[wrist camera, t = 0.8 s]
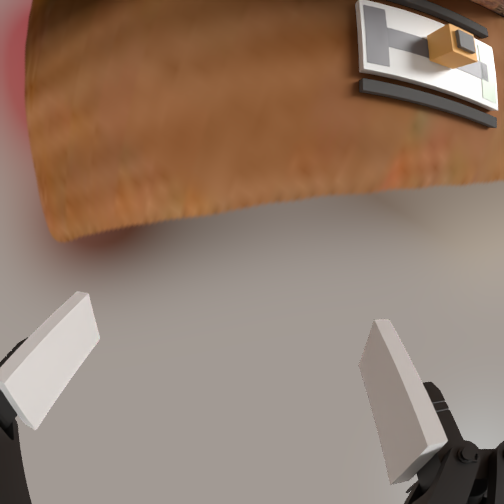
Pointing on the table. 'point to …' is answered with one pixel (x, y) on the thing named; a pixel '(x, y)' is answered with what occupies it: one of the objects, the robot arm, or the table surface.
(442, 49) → the lever
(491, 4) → the book
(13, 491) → the robot arm
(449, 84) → the panel
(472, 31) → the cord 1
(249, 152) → the table surface
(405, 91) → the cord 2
